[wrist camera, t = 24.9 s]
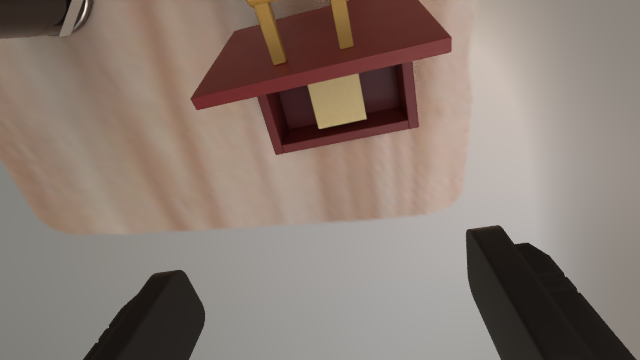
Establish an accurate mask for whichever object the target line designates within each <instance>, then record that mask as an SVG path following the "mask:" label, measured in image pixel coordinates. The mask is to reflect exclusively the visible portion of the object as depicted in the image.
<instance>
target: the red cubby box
mask: <svg viewBox="0 0 640 360" xmlns="http://www.w3.org/2000/svg"><path fill="white" fill-rule="evenodd" d="M358 74H359V79H360V85H361V90H362V96H363V101H364V106H365V112H366V117H367V119H364V120H359V121H355V122H350V123H345V124H341V125H336V126H331V127H327V128H322V129H318V125H317V121H316V117H315V113H314V109H313V105H312V101H311V97H310V93H309V90H308V86H307V85H305V86H301V87H296V88H292V89H288V90H283V91H279V92H274V93H270V94H266V95H261V96H257V97H258V101H259V104H260V107H261V110H262V113H263V116H264V120H265V123H266V126H267V129H268V132H269V135H270V138H271V142H272V145H273V148H274V151H275V154H276V155H278V154H283V153H288V152H293V151H298V150H303V149H309V148H314V147H319V146H324V145H329V144H334V143H339V142H344V141H349V140H354V139H360V138H365V137H370V136H375V135H380V134H385V133H390V132H395V131H400V130H406V129H412V128H417V127H419V123H418V113H417V103H416V94H415V84H414V74H413V65H412V61H410V62H406V63H401V64H397V65H393V66H388V67H384V68H379V69H375V70H371V71H366V72H362V73H358Z"/></svg>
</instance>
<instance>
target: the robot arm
mask: <svg viewBox="0 0 640 360" xmlns="http://www.w3.org/2000/svg"><path fill="white" fill-rule="evenodd" d="M91 7H92V0H0V39H8V38H20V37H22V38H23V37H36V36H59V37H62V36H70V35H71V33H73V32H75V31H77V30H78V29H80V28H81V27H82V26H83V25H84V23H85V22H86V20H87V19H88V16H89V14H90V11H91ZM466 248H467V270H468V280H469V285H470V289H471V292H472V295H473V298H474V300H475V302H476V305H477V307H478V309H479V311H480V314H481V316H482V318H483V320H484V323H485V325H486V327H487V329H488V332H489V334H490V336H491V338H492V340H493V343H494V345H495V347H496V349H497V352H498V354H499V356H500V358H501V360H636V359H635V357H634V356H633V355H632V354H631V353H630V352H629V350H628V349H627V348H626V347H625V346H624V345H623V343H622V342H621V341H620V340H619V339H618V337H617V336H616V335H615V334H614V333H613V331H612V330H611V329H610V328H609V327H608V325H607V324H606V323H605V322H604V321H603V319H602V318H601V317H600V316H599V315H598V313H597V312H596V311H595V310H594V309H593V307H592V306H591V305H590V304H589V303H588V302H587V300H586V299H585V298H584V297H583V295H582V294H581V293H578V292H577V288H576V287H575V286H574V285H573V284H572V282H571V281H570V280H569V279H568V278H567V277H565V276H564V273H563V272H562V270H561V269H560V268H559V267H558V266H557V264H556V263H555V262H554V261H553V260H552V258H551V257H550V256H549V255H547V254H545V253H544V252H542V251H541V250H539V249H537V248H536V247H534V246H533V245H531V244H529V243H521V244H514V243H513V242H512V241H511V239H510V238H509V237H508V235H507V234H506V232H505V231H504V230H503V229H502V227H501V226H499V225H497V226H489V227H482V228H475V229H468V230H467V232H466ZM204 322H205V311H204V307H203V305H202V303H201V301H200V299H199V297H198V295H197V293H196V292H195V290H194V288H193V286H192V284H191V283H190V281H189V279H188V277H187V275H186V274H185V272H183V271H182V270H175V271H168V272H161V273H155V274H153V275H152V276H151V277H150V278H149V280H148V281H147V282H146V284H145V285H144V286H143V288H142V289H141V290H140V292H139V293H138V294H137V295H136V296H135V297H134V298H133V299H132V300H130V301H129V302H128V303H127V304H126V305H125V306H124V307H123V308H122V309H121V310H120V311H119V312H118V314H117V315H116V317H115V318H114V319H113V321H112V322H111V323H110V325H109V328H108V329H106V330H105V331H104V332H103V334H102V335H101V336H100V338H99V342H98V343H95V344H94V346H93V347H92V348H91V350H90V351H89V352H88V354H87V355H86V356H85V358H84V359H83V360H189V358H190V356H191V354H192V351H193V349H194V347H195V345H196V342H197V340H198V338H199V336H200V334H201V331H202V329H203V326H204Z"/></svg>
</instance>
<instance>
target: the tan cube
mask: <svg viewBox="0 0 640 360" xmlns="http://www.w3.org/2000/svg"><path fill="white" fill-rule="evenodd" d="M307 86H308V90H309V93H310V97H311V101H312V105H313V109H314V113H315V117H316V121H317V125H318V129H322V128H327V127H331V126H336V125H341V124H345V123H350V122H355V121H359V120H364V119H367V117H366V112H365V106H364V101H363V96H362V90H361V85H360V79H359V74H353V75H349V76H344V77H340V78H336V79H331V80H327V81H323V82H318V83H314V84H309V85H307Z"/></svg>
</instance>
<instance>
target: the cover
mask: <svg viewBox="0 0 640 360" xmlns="http://www.w3.org/2000/svg"><path fill="white" fill-rule="evenodd" d="M246 1H247V3H248V4H249V5H250V6H251V7H254V9H255V12H256V15H257V18H258V21H259V24H260V25H256V26H252V27H248V28H245V29H241V30H237V31H234V33H233V34H232V36H231V37H230V39H229V40H228V42H227V43H226V45H225V46H224V48H223V50H222V51H221V53H220V54H219V56H218V57H217V59H216V60H215V62H214V63H213V65H212V66H211V68H210V69H209V71H208V73H207V74H206V76H205V77H204V79H203V80H202V82H201V83H200V85H199V86H198V88H197V89H196V91H195V92H194V94H193V96H192V97H191V101H192V102H193V104H194V106H195V108H196V110H200V109H204V108H209V107H213V106H218V105H222V104H226V103H231V102H235V101H239V100H244V99H248V98H253V97H257V96H261V95H266V94H270V93H274V92H279V91H283V90H288V89H292V88H296V87H301V86H305V85H309V84H314V83H318V82H323V81H327V80H331V79H336V78H340V77H344V76H349V75H353V74H358V73H362V72H366V71H371V70H375V69H379V68H384V67H388V66H393V65H397V64H401V63H406V62H410V61H414V60H419V59H423V58H428V57H432V56H436V55H441V54H445V53H449V52H451V36H450V35H449V34H448V33H447V32H446V31H445V30H444V28H443V27H442V26H441V25H440V24H439V23H438V22H437V21H436V19H435V18H434V17H433V16H432V15H431V14H430V13H429V12H428V10H427V9H426V8H425V7H424V6H423V5H422V4H421V3H420V2H419V0H350V1H346V0H330V2H331V6H327V7H323V8H320V9H316V10H312V11H308V12H305V13H301V14H297V15H293V16H290V17H286V18H282V19H278V20H275V16H274V13H273V10H272V7H271V4H270V2H273V1H277V0H246Z"/></svg>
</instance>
